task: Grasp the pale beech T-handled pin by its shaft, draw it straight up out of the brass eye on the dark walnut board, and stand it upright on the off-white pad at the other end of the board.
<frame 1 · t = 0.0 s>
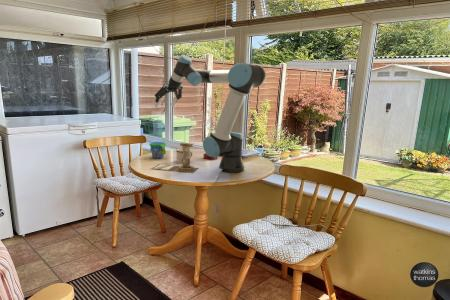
hand: (164, 105, 199), 36 cm above the table, tool tilted 35°, fingers open, 13 cm apart
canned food: (210, 158, 214), on the table
board: (175, 171, 178), on the table
snack cup: (157, 157, 211), on the table
pin: (186, 169, 177), point 1 cm above the table, touching board
teacup with lid: (185, 163, 198), on the table
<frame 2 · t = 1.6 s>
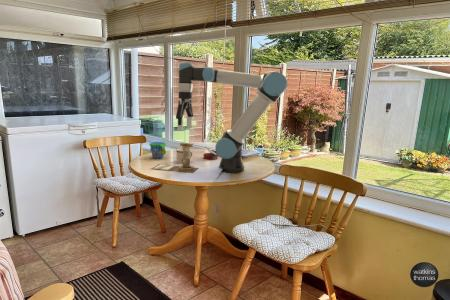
hand: (184, 129, 173), 25 cm above the table, tool pointing down, fingers open, 13 cm apart
nothing on the table moved.
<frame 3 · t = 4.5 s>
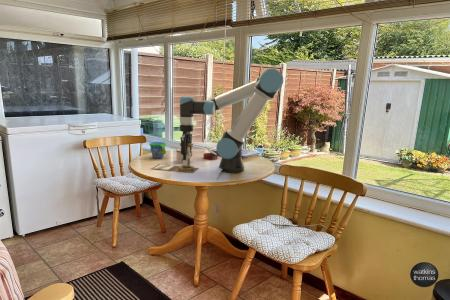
hand: (186, 164, 176), 5 cm above the table, tool pointing down, fingers closed on pin, 4 cm apart
pin: (186, 169, 177), point 1 cm above the table, touching board, gripper
everything else where it was.
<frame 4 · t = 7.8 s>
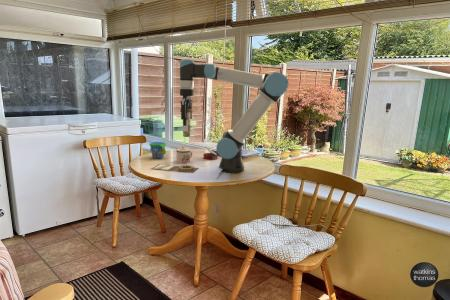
hand: (186, 130, 172), 24 cm above the table, tool pointing down, fingers closed on pin, 4 cm apart
pin: (186, 136, 173), point 21 cm above the table, touching gripper
everything else where it was.
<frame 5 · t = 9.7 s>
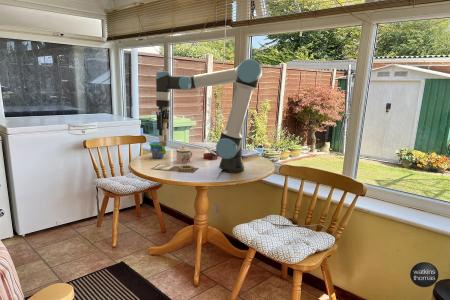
hand: (163, 140, 176), 18 cm above the table, tool pointing down, fingers closed on pin, 4 cm apart
pin: (163, 145, 177), point 15 cm above the table, touching gripper
everything else where it was.
when the fingers open (6 cm above the table, at t = 11.5 s): pin stays where it is, resting on board.
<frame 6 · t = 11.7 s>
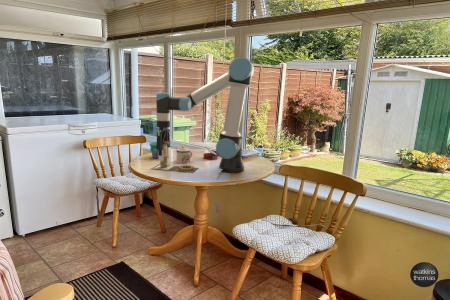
hand: (163, 159, 179), 7 cm above the table, tool pointing down, fingers open, 7 cm apart
pin: (163, 167, 180), point 2 cm above the table, touching board
everything else where it was.
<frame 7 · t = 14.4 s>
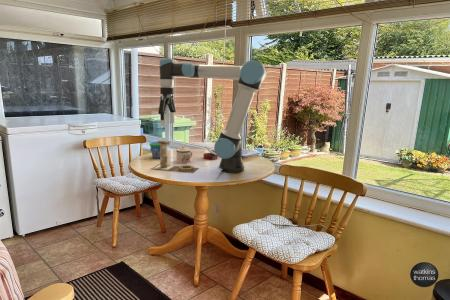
hand: (167, 124, 176), 27 cm above the table, tool pointing down, fingers open, 13 cm apart
nothing on the table moved.
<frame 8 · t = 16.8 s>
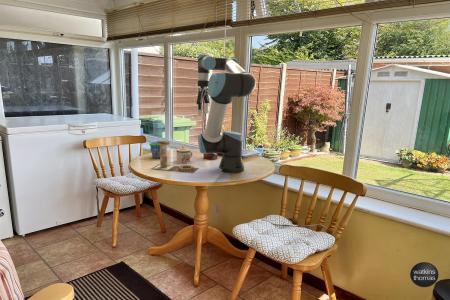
hand: (203, 114, 195), 32 cm above the table, tool pointing down, fingers open, 13 cm apart
nothing on the table moved.
at the end: pin inside the target area on the board (0.0 cm from its centre), point 1.8 cm above the board's base; pin tilted 1°; the gripper is holding nothing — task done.
